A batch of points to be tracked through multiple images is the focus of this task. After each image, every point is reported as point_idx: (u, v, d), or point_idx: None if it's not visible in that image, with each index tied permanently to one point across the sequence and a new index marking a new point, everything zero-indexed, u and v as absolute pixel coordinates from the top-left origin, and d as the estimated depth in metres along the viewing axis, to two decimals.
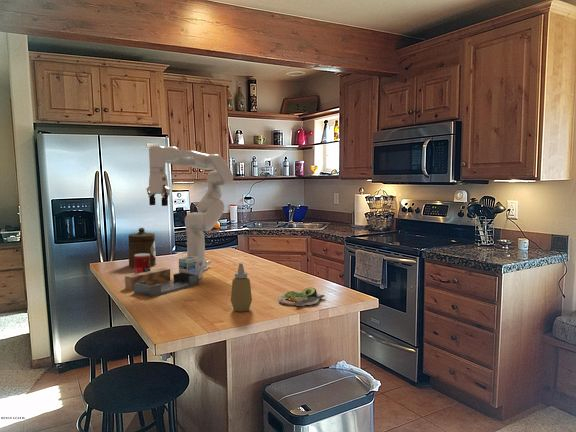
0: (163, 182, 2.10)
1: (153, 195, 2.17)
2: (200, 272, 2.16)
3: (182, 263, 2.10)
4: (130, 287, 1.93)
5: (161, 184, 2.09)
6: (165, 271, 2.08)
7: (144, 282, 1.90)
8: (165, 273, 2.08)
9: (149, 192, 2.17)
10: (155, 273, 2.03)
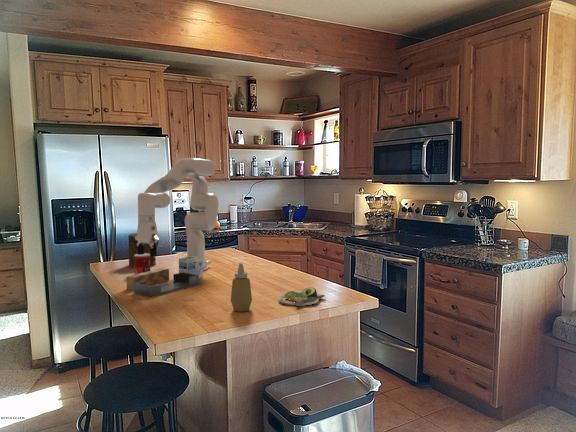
0: (152, 231, 1.97)
1: (142, 244, 2.05)
2: (200, 272, 2.16)
3: (182, 262, 2.10)
4: (132, 288, 1.93)
5: (149, 233, 1.96)
6: (164, 271, 2.09)
7: (144, 282, 1.90)
8: (165, 273, 2.09)
9: (137, 240, 2.04)
10: (155, 273, 2.04)
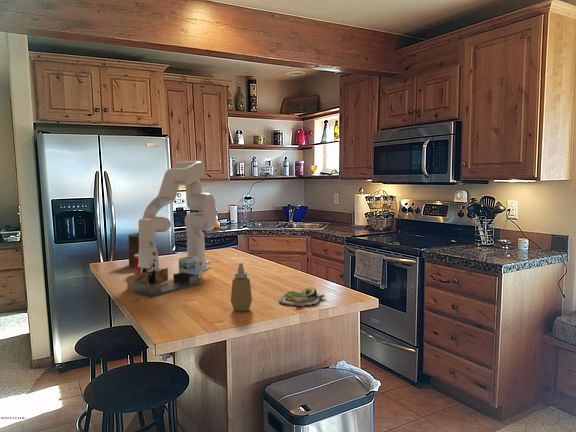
0: (153, 257, 1.98)
1: (145, 270, 2.05)
2: (200, 272, 2.16)
3: (182, 262, 2.10)
4: (133, 287, 1.92)
5: (150, 259, 1.98)
6: (163, 270, 2.09)
7: (144, 282, 1.90)
8: (164, 272, 2.09)
9: None
10: None
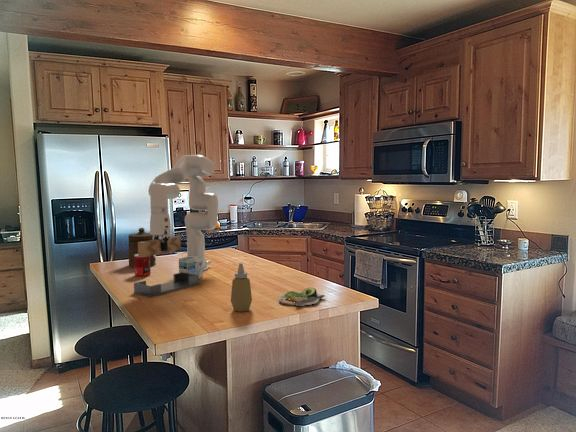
0: (165, 223, 1.91)
1: (157, 238, 1.98)
2: (200, 272, 2.16)
3: (182, 262, 2.10)
4: (144, 254, 1.85)
5: (162, 225, 1.91)
6: (176, 239, 2.02)
7: (144, 282, 1.90)
8: (176, 241, 2.02)
9: (153, 235, 1.98)
10: None
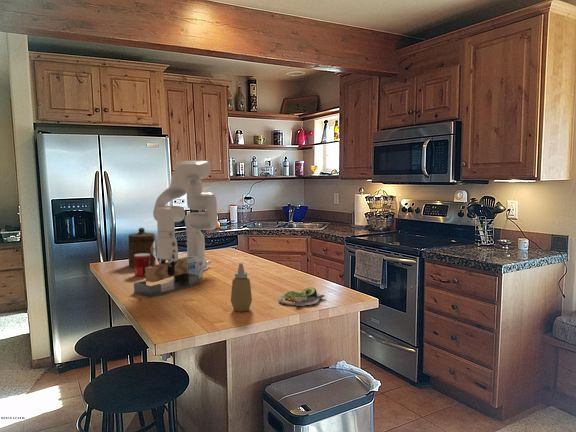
0: (172, 248, 1.90)
1: (164, 262, 1.97)
2: (200, 272, 2.16)
3: None
4: (152, 279, 1.84)
5: (170, 250, 1.89)
6: (182, 262, 2.00)
7: (144, 282, 1.90)
8: (183, 264, 2.00)
9: (159, 258, 1.96)
10: None
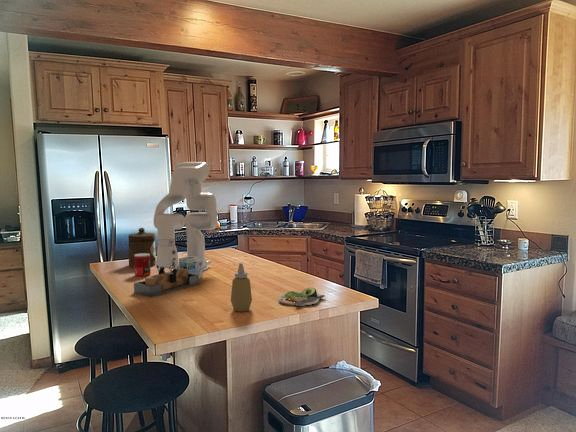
0: (173, 256, 1.90)
1: (162, 269, 1.97)
2: (200, 272, 2.16)
3: (182, 262, 2.10)
4: None
5: (170, 258, 1.89)
6: (183, 272, 2.00)
7: (144, 282, 1.90)
8: (184, 274, 2.01)
9: (158, 265, 1.97)
10: None
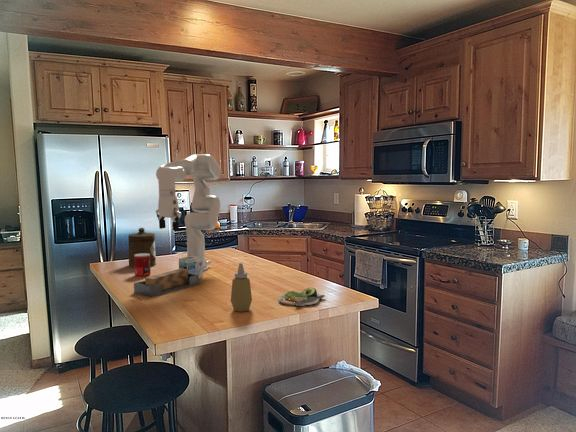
0: (174, 205, 2.00)
1: (163, 218, 2.07)
2: (200, 272, 2.16)
3: (182, 262, 2.10)
4: None
5: (171, 207, 1.99)
6: (183, 272, 2.00)
7: (144, 282, 1.90)
8: (184, 274, 2.01)
9: (158, 215, 2.07)
10: (174, 274, 1.95)
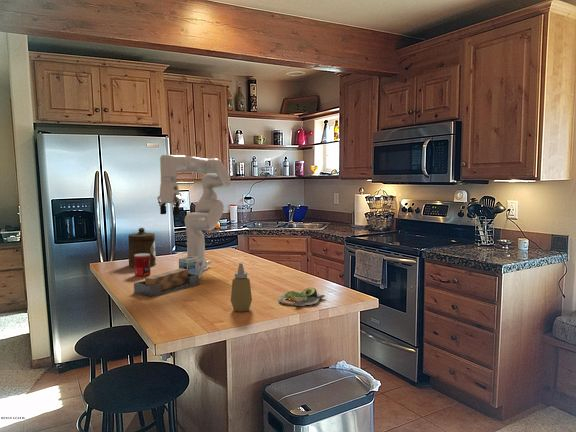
0: (174, 191, 2.08)
1: (164, 204, 2.15)
2: (200, 272, 2.16)
3: (182, 262, 2.10)
4: None
5: (172, 193, 2.07)
6: (183, 272, 2.00)
7: (144, 282, 1.90)
8: (184, 274, 2.01)
9: (160, 201, 2.15)
10: (174, 274, 1.95)
